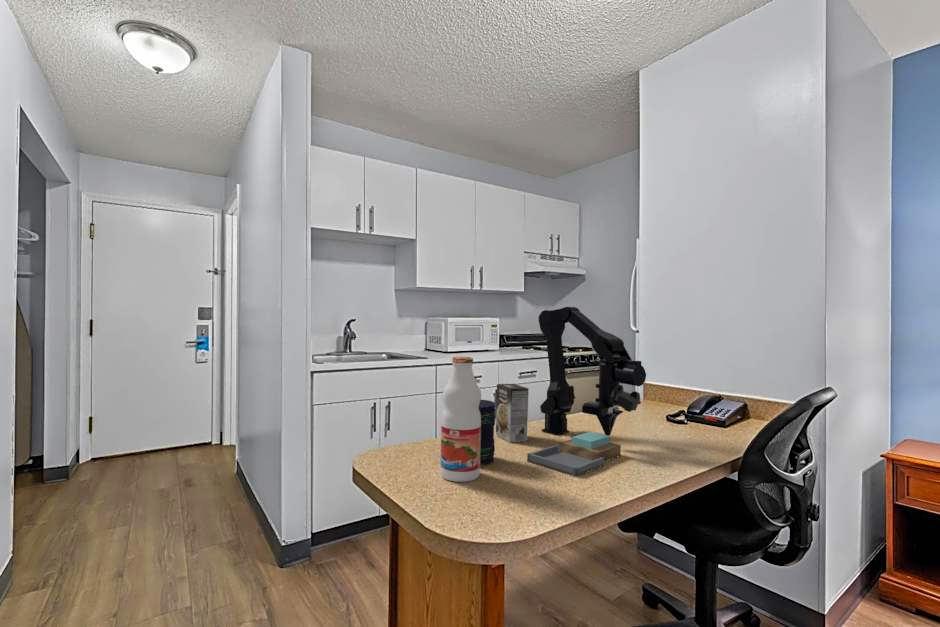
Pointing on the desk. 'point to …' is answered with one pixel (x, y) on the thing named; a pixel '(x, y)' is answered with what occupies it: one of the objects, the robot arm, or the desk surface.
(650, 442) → the desk surface
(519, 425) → the coffee box
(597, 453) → the deck
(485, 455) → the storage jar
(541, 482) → the desk surface
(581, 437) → the teal sponge
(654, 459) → the desk surface
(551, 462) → the tray
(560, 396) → the robot arm
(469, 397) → the fruit juice
